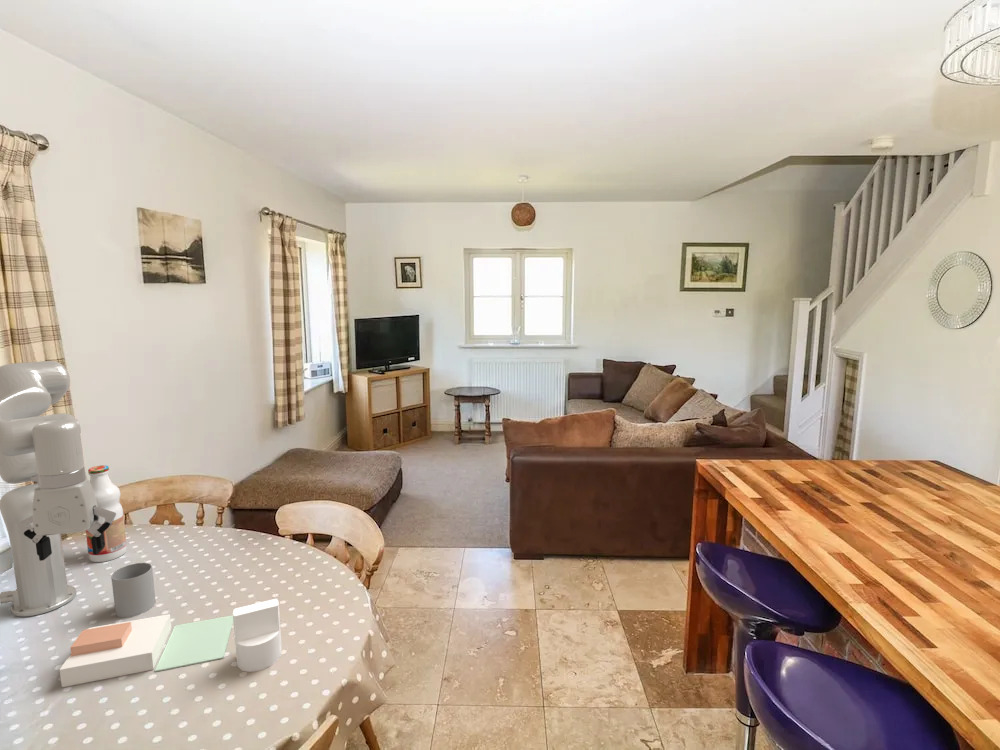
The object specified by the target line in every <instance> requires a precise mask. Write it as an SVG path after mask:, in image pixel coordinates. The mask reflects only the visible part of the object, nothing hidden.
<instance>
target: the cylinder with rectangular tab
mask: <svg viewBox="0 0 1000 750" xmlns="http://www.w3.org/2000/svg"><path fill="white" fill-rule="evenodd" d="M232 615H233V620H234V622H233V630H234V643H235V644H234V645H235V652H236V653H235V655H236V657H235V658H236V665H237V667H238V669H240V670H241V671H243V672H250V673H251V672H258V671H262V670H265V669H268V668H269V667H270V666H273V665H274V664H275V663H277V662H278V661H279V659H280V658H281V656H282V654H283V653H282V651H283V650H282V635H281V634H282V632H281V617H280V602H279V600H278V598H273V599H268V600H264V601H261V602H256V603H253V604H249V605H244V606H240V607H236V608H233V611H232ZM281 653H282V654H281Z"/></svg>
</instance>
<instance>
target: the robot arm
mask: <svg viewBox="0 0 1000 750" xmlns="http://www.w3.org/2000/svg"><path fill="white" fill-rule="evenodd" d="M70 386H71V377H70V374H69V371H68V369H67V367H66V366H64V364H62V363H60V362H58V361H55V360H42V361H30V362H29V361H28V362H15V363H8V364H3V365H1V366H0V478H1V480H2V481H3V482H5V483H6V484H22V483H26V482H33V484H32V483H31V484H27V485H24V486H19V487H16V488H13V489H11V490H9V491H7V492H6V493H4V494H3V495H2V496H1V497H0V515H1V516H2V519H3V520H2V521H3V522H4V524H5V527H6V531H7V534H8V538H9V539H8V540H9V543H10V552H11V556H12V557H11V558H12V559H11V560H12V564H13V572H14V579H15V584H16V585H15V586H16V589H15V590H8V591H7V590H5V591H1V592H0V604H1V605H2V604H7V603H13V604H12V605H11V607H10V611H11V613H12V615H13V616H17V617H32V616H37V615H38V616H39V615H42V614H46V613H48V612H52V611H54V610H56V609H58V608H60V607H62V606H65V605H66V604H68V603H70V602H71V600H73V599H75V596H76V595H77V590H76V589H77V588H76V587H75V586H73V585H70V584H68V580H67V573H66V564H65V556H64V549H63V541H62V536H61V535H62V534H63V535H65V534H75V533H81V532H86V530H87V531H89V532H90V533H91V534H92V535H94V536H93V537H92V538H91V542H92V550H93V554H94V555H97V554H98V553H99V552H101V551H102V550H103V548H104V547H105V538H104V531H106V529H107V528H108V527H109V526H110V525H111V524H112V522H113V520H114V518H115V516H116V513H115V512H112V511H109V510H106V509H103V508H99V507H98V506H97V501H96V497H95V494H94V491H93V488H92V485H91V483H90V480H89V478H88V477H87V474H86V469H85V468H86V467H85V461H84V454H83V445H82V438H81V437H82V436H81V431H82V430H81V424H80V422H79V420H78V418H76V417H74V415H72V414H70V413H65V412H63V413H55V414H53V413H52V414H48V415H43V414H44V413H46V412H47V411H48V410H49V409H50V406H52V405H55V404H57V403H58V402H59V401H61V400H62V398H63V397H64V396H65V395H66V393H67V392H68V390H69V388H70ZM99 516H100V517H104V518H105V522H104V524H103V525H102V524H101V523H99V522H98V520H99Z"/></svg>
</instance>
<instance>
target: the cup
mask: <svg viewBox="0 0 1000 750" xmlns="http://www.w3.org/2000/svg"><path fill="white" fill-rule="evenodd" d="M110 576H111V577H110V578H111V579H110V580H111V586H112V593H113V594H112V596H113V603H114V612H115V615H116V617H118V618H122V619H124V618H133V617H137V616H139V615H142V614H145V613H147V612H149V611H150V610H151V609H153V608H154V607H155V605H156V602H157V600H156V593H155V581H154V572H153V565H152V564H151V563H149V562H148V563H147V562H135V563H133V564H128V565H125V566H123V567H120V568H119V569H117V570H115V571H113V572H112V574H111V575H110Z"/></svg>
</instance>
